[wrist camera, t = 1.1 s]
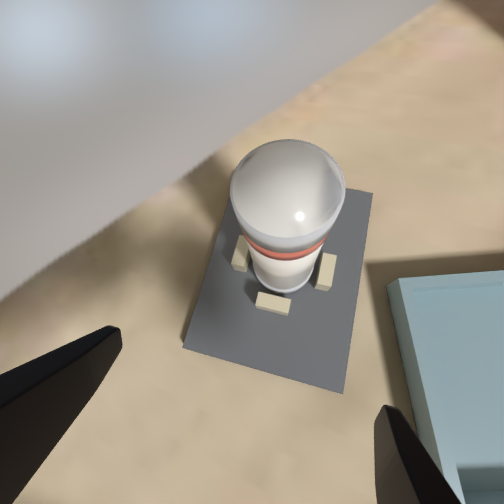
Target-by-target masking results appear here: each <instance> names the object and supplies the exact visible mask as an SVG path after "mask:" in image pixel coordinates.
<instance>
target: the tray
mask: <svg viewBox="0 0 504 504" xmlns="http://www.w3.org/2000/svg"><path fill="white" fill-rule="evenodd" d="M386 289H387V293H388V298H389V303H390V307H391V312H392V317H393V321H394V326H395V331H396V335H397V340H398V345H399V349H400V354H401V359H402V363H403V368H404V373H405V377H406V382H407V387H408V391H409V396H410V400H411V405H412V410H413V414H414V419H415V424H416V428H417V433H418V438H419V439H420V441H421V443H422V444H423V446H424V447H425V449H426V450H427V452H428V453H429V455H430V456H431V458H432V459H433V461H434V462H435V464H436V465H437V467H438V468H439V470H440V471H441V473H442V474H443V476H444V477H445V479H446V480H447V482H448V483H449V485H450V487H451V488H452V490H453V491H454V493H455V494H456V496H457V497H458V499H459V500H460V502H461V503H462V504H504V270H500V271H487V272H474V273H461V274H448V275H435V276H422V277H409V278H398V279H396V280H394V281H393V282H391V283H389V284H387V285H386Z"/></svg>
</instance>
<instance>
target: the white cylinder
mask: <svg viewBox="0 0 504 504" xmlns="http://www.w3.org/2000/svg"><path fill="white" fill-rule="evenodd" d="M345 188H346V187H345V180H344V176H343V173H342V171H341V168H340V167H339V165H338V163H337V162H336V161H335V160H334V158H333V157H332V156H331V155H330V154H329V153H327V152H326V151H325V150H323V149H322V148H320V147H318V146H316V145H314V144H311V143H309V142H305V141H301V140H293V139H285V140H277V141H272V142H268V143H266V144H263V145H261V146H259V147H257V148H255V149H254V150H252V151H251V152H249V153H248V154H247V155H246V156H245V157H244V158H243V159H242V160H241V161H240V163H239V164H238V166H237V167H236V169H235V171H234V173H233V176H232V179H231V184H230V198H231V202H232V206H233V209H234V212H235V215H236V218H237V221H238V223H239V225H240V228H241V229H242V232H243V235H244V237H245V239H246V242H247V245H248V248H249V251H250V254H251V257H252V260H253V268H254V271H255V274H256V277H257V279H258V281H259V282H260V284H261V285H262V286H263V287H264V288H266V289H267V290H269V291H270V292H273V293H276V294H281V295H286V294H291V293H294V292H297V291H298V290H300V289H301V288H303V287H304V286H305V285H306V283H307V282H308V280H309V278H310V276H311V274H312V271H313V268H314V264H315V261H316V259H317V257H318V254H319V252H320V250H321V247H322V245H323V243H324V241H325V240H326V238H327V236H328V234H329V232H330V231H331V229H332V227H333V225H334V223H335V221H336V219H337V216H338V214H339V212H340V210H341V208H342V205H343V202H344V198H345Z"/></svg>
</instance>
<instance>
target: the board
mask: <svg viewBox="0 0 504 504" xmlns="http://www.w3.org/2000/svg"><path fill="white" fill-rule="evenodd" d="M372 196H373V193H369V192H363V191H357V190H351V189H346V188H345V198H344V202H343V205H342V208H341V210H340V212H339V214H338V216H337V219H336V221H335V223H334V225H333V227H332V229H331V231H330V232H329V234H328V236H327V238H326V240H325V241H324V243H323V245H322V247H321V250H320V252H319V254H318V257H317V259H316V261H315V264H314V268H313V271H312V274H311V276H310V278H309V280H308V282H307V283H306V285H305V286H304V287H303V288H301V289H300V290H298V291H297V292H294V293H291V294H286V295H281V294H276V293H273V292H270V291H269V290H267V289H266V288H264V287H263V286H262V285H261V284H260V282H259V281H258V279H257V277H256V274H255V271H254V268H253V260H252V257H251V254H250V251H249V248H248V245H247V242H246V239H245V237H244V235H243V232H242V229H241V228H240V225H239V223H238V221H237V218H236V215H235V212H234V209H233V206H232V202H231V198H230V197H229V201H228V204H227V207H226V210H225V213H224V217H223V220H222V223H221V226H220V229H219V232H218V236H217V239H216V242H215V245H214V248H213V252H212V255H211V258H210V261H209V264H208V267H207V271H206V274H205V277H204V280H203V283H202V287H201V290H200V293H199V296H198V299H197V302H196V306H195V309H194V312H193V315H192V318H191V322H190V325H189V328H188V331H187V334H186V337H185V341H184V344H183V347H182V348H185V349H188V350H192V351H195V352H199V353H202V354H205V355H209V356H212V357H216V358H219V359H223V360H226V361H230V362H233V363H237V364H240V365H243V366H247V367H250V368H254V369H257V370H261V371H264V372H268V373H271V374H275V375H278V376H282V377H285V378H288V379H292V380H295V381H299V382H302V383H306V384H309V385H313V386H316V387H320V388H323V389H326V390H330V391H333V392H337V393H340V394H343V390H344V383H345V377H346V370H347V363H348V357H349V350H350V343H351V336H352V330H353V323H354V316H355V310H356V303H357V296H358V289H359V283H360V276H361V269H362V263H363V256H364V249H365V243H366V236H367V229H368V222H369V216H370V209H371V202H372Z"/></svg>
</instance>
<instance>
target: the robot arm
mask: <svg viewBox="0 0 504 504" xmlns="http://www.w3.org/2000/svg"><path fill="white" fill-rule="evenodd" d="M121 349H122V337H121V331H120V329H119V328H118V327H114V326H110V325H108V326H105V327H103V328H101V329H99V330H96V331H94V332H92V333H90V334H88V335H86V336H83V337H81V338H79V339H77V340H75V341H73V342H70V343H68V344H66V345H64V346H62V347H60V348H57V349H55V350H53V351H51V352H49V353H46V354H44V355H42V356H40V357H38V358H36V359H33V360H31V361H29V362H27V363H25V364H23V365H20V366H18V367H16V368H14V369H12V370H10V371H7V372H5V373H3V374H1V375H0V504H12V503H13V502H14V501H15V499H16V498H17V497H18V495H19V494H20V493H21V491H22V490H23V489H24V487H25V486H26V485H27V483H28V482H29V481H30V479H31V478H32V477H33V475H34V474H35V473H36V471H37V470H38V469H39V467H40V466H41V464H42V463H43V462H44V460H45V459H46V458H47V456H48V455H49V454H50V452H51V451H52V450H53V448H54V447H55V446H56V444H57V443H58V442H59V440H60V439H61V438H62V436H63V435H64V434H65V432H66V431H67V430H68V428H69V427H70V426H71V424H72V423H73V422H74V420H75V419H76V418H77V416H78V415H79V413H80V412H81V411H82V409H83V408H84V407H85V405H86V404H87V403H88V401H89V400H90V399H91V397H92V396H93V395H94V393H95V392H96V390H97V389H98V387H99V386H100V384H101V382H102V381H103V379H104V378H105V376H106V374H107V373H108V371H109V369H110V368H111V366H112V364H113V363H114V361H115V359H116V358H117V356H118V355H119V353H120V351H121ZM374 457H375V487H376V497H377V504H462V503H461V502H460V500H459V499H458V497H457V496H456V494H455V493H454V491H453V490H452V488H451V487H450V485H449V483H448V482H447V480H446V479H445V477H444V476H443V474H442V473H441V471H440V470H439V468H438V467H437V465H436V464H435V462H434V461H433V459H432V458H431V456H430V455H429V453H428V452H427V450H426V449H425V447H424V446H423V444H422V443H421V441H420V439H419V438H418V436H417V435H416V433H415V432H414V430H413V429H412V427H411V426H410V424H409V423H408V421H407V420H406V418H405V417H404V415H403V414H402V412H401V411H400V410H399V409H398V408H396V407H393V406H389V405H383V407H382V408H381V410H380V412H379V414H378V416H377V418H376V420H375V423H374Z"/></svg>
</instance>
